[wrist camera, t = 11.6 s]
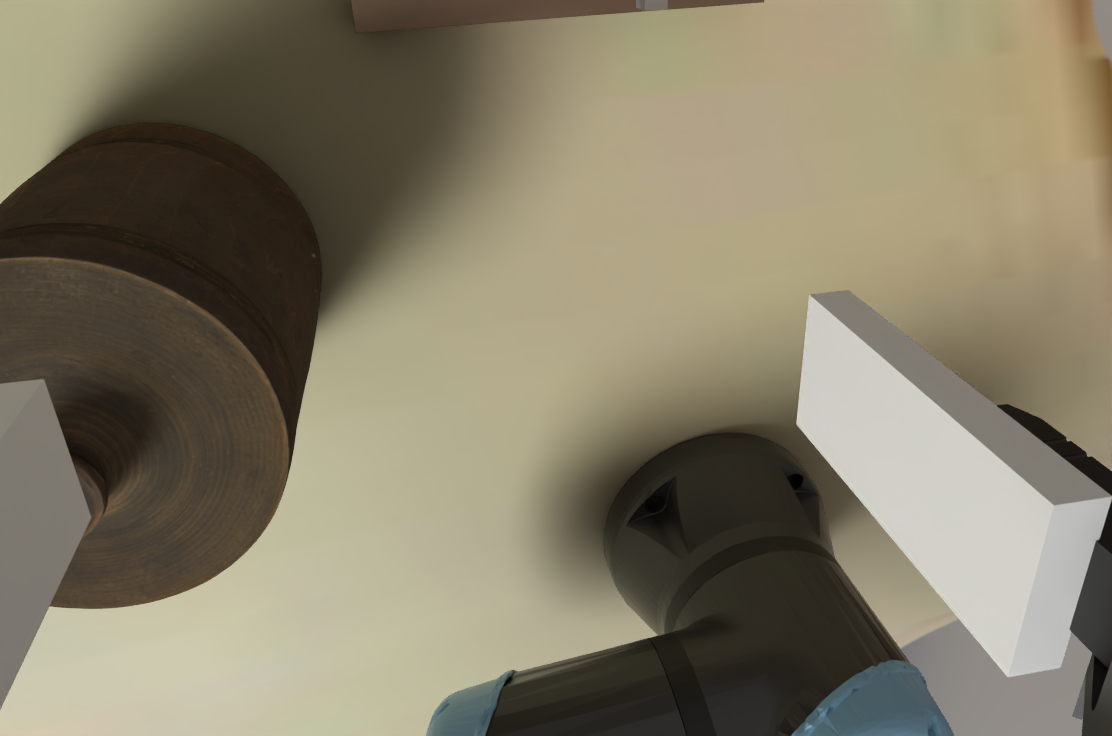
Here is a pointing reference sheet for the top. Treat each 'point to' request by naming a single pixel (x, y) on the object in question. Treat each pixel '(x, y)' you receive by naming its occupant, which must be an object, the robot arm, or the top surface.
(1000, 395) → the top surface
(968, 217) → the top surface
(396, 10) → the gear board
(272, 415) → the wooden container
